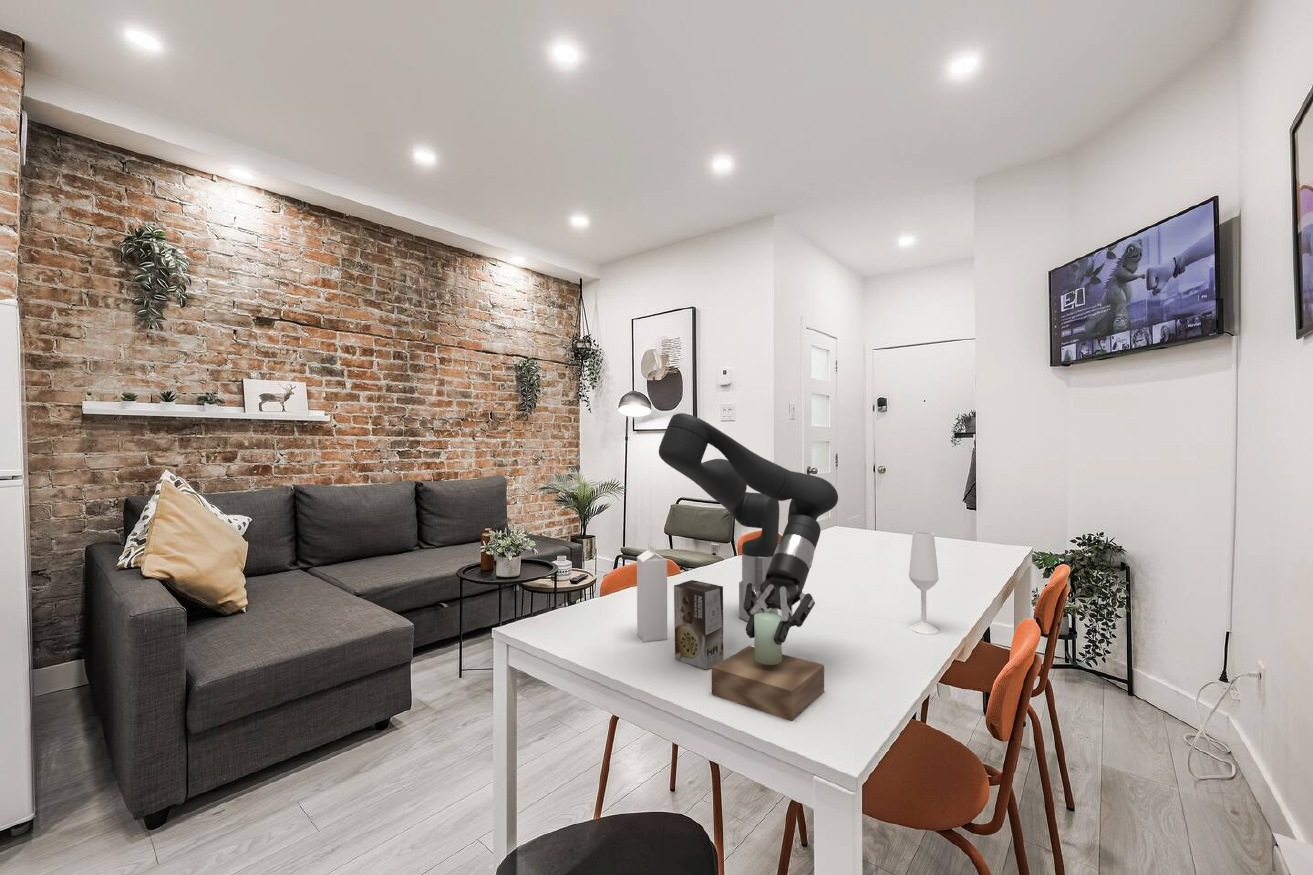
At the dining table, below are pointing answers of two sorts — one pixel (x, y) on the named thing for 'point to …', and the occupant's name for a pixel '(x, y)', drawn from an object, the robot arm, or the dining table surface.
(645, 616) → the milk
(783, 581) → the robot arm
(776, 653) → the sage cylinder
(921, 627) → the champagne flute
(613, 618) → the dining table surface
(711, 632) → the coffee box
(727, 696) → the walnut base
